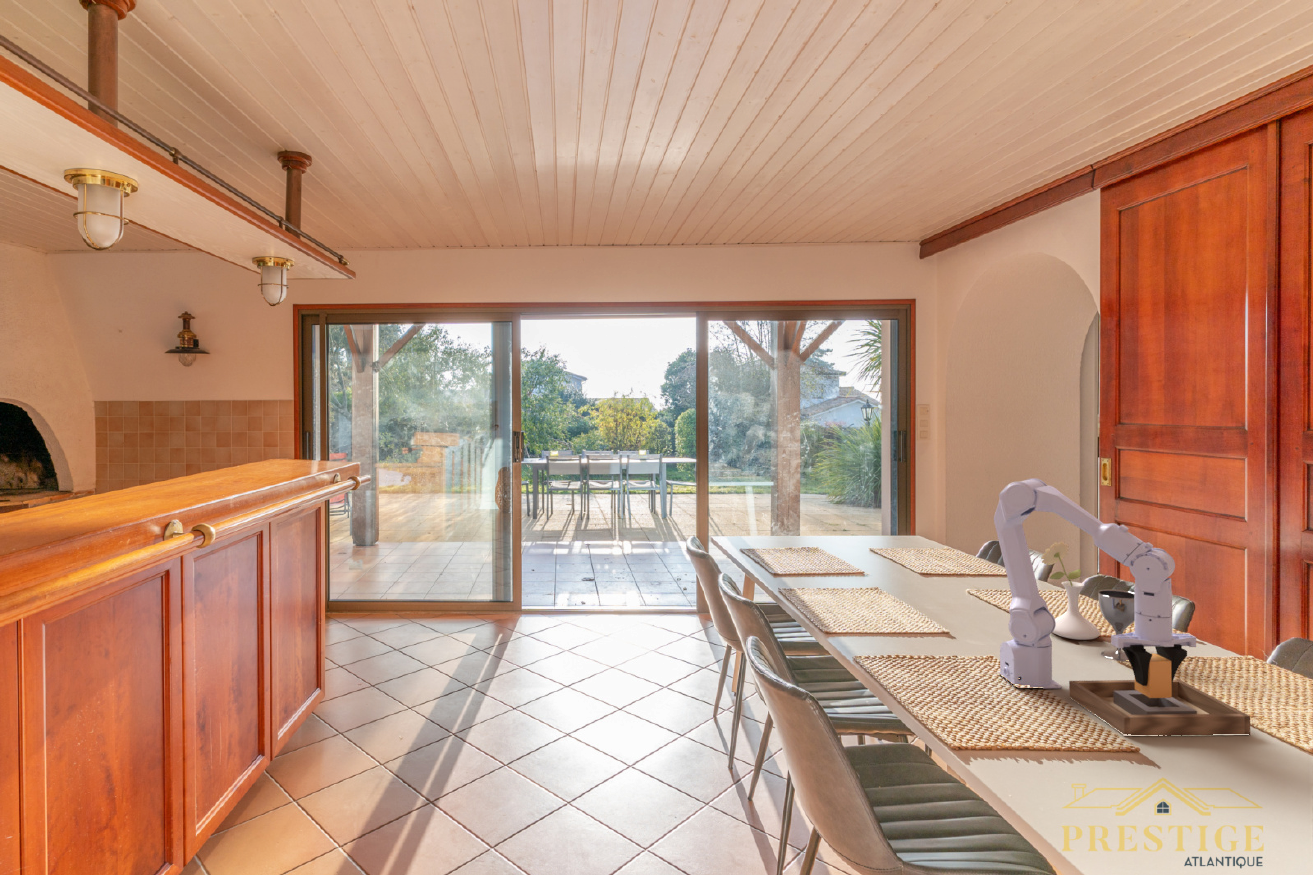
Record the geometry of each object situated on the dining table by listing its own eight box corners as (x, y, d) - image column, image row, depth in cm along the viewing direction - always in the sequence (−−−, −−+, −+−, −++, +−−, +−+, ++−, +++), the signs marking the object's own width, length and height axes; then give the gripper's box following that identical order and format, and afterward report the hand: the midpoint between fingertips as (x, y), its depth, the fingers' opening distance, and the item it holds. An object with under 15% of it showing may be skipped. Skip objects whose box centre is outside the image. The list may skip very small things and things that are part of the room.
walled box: (1124, 736, 114) (1124, 717, 114) (1069, 697, 130) (1069, 680, 130) (1250, 735, 113) (1250, 716, 113) (1179, 696, 129) (1179, 679, 129)
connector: (1149, 698, 120) (1149, 661, 119) (1134, 689, 124) (1134, 653, 123) (1171, 697, 119) (1171, 661, 119) (1155, 688, 123) (1155, 653, 123)
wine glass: (1122, 664, 146) (1122, 600, 146) (1090, 652, 154) (1090, 591, 153) (1148, 659, 148) (1148, 596, 148) (1115, 648, 156) (1115, 588, 155)
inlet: (1147, 724, 117) (1146, 711, 117) (1113, 703, 126) (1113, 690, 126) (1196, 724, 117) (1196, 710, 117) (1159, 702, 126) (1159, 690, 126)
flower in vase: (1083, 629, 170) (1083, 536, 169) (1110, 644, 159) (1109, 545, 158) (1032, 628, 171) (1031, 537, 171) (1055, 643, 160) (1054, 545, 159)
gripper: (1129, 620, 117) (1129, 692, 117) (1209, 619, 117) (1210, 692, 117) (1103, 609, 124) (1104, 677, 124) (1179, 607, 124) (1179, 676, 124)
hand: (1153, 683), depth 121 cm, fingers closed on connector, 4 cm apart
